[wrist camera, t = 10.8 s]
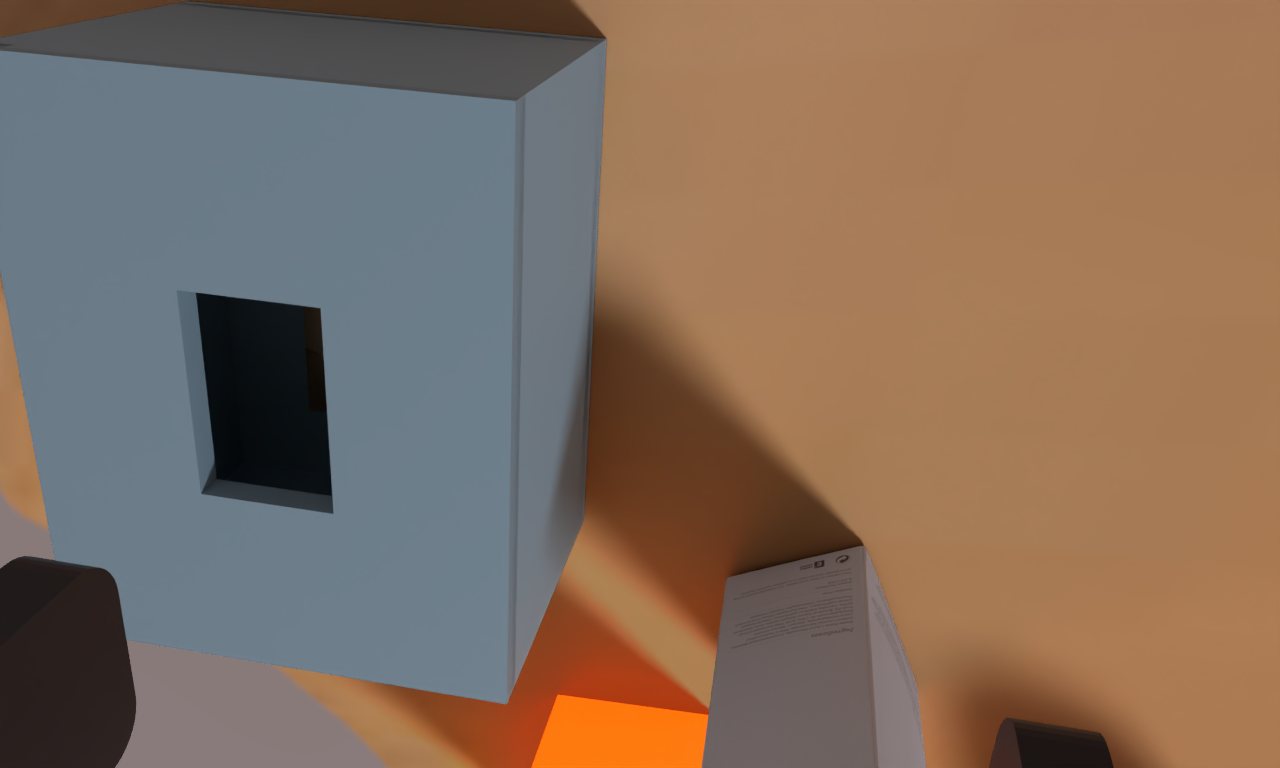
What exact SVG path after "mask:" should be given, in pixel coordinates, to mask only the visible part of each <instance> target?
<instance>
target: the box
mask: <svg viewBox="0 0 1280 768" xmlns="http://www.w3.org/2000/svg"><path fill="white" fill-rule="evenodd" d="M606 45H607V39H604V38H592V37H581V36H570V35H559V34H548V33H537V32H526V31H515V30H503V29H492V28H481V27H470V26H459V25H448V24H437V23H425V22H414V21H403V20H392V19H381V18H370V17H359V16H348V15H336V14H325V13H314V12H303V11H292V10H281V9H270V8H258V7H247V6H236V5H225V4H214V3H203V2H192V1H185V2H180V3H175V4H170V5H164V6H159V7H154V8H149V9H144V10H139V11H134V12H129V13H124V14H119V15H114V16H109V17H104V18H99V19H94V20H89V21H83V22H78V23H73V24H68V25H63V26H58V27H53V28H48V29H43V30H38V31H33V32H28V33H23V34H18V35H13V36H7V37H2V38H0V272H1V278H2V283H3V288H4V294H5V299H6V304H7V309H8V315H9V320H10V325H11V331H12V336H13V341H14V346H15V352H16V357H17V362H18V368H19V373H20V378H21V383H22V389H23V394H24V399H25V405H26V410H27V415H28V421H29V426H30V431H31V436H32V442H33V447H34V452H35V458H36V463H37V468H38V473H39V479H40V484H41V489H42V495H43V500H44V505H45V510H46V516H47V521H48V526H49V532H50V537H51V542H52V547H53V552H54V558H55V560H56V561H62V562H68V563H74V564H80V565H87V566H93V567H99V568H103V569H105V570H107V571H108V572H109V573H111V575H112V576H113V577H114V579H115V582H116V584H117V588H118V592H119V598H120V604H121V610H122V616H123V622H124V628H125V634H126V640H130V641H136V642H142V643H148V644H154V645H159V646H165V647H171V648H177V649H183V650H189V651H195V652H201V653H206V654H212V655H218V656H224V657H230V658H236V659H242V660H248V661H254V662H260V663H265V664H271V665H277V666H283V667H289V668H295V669H301V670H307V671H313V672H319V673H324V674H330V675H336V676H342V677H348V678H354V679H360V680H366V681H372V682H377V683H383V684H389V685H395V686H401V687H407V688H413V689H419V690H425V691H431V692H436V693H442V694H448V695H454V696H460V697H466V698H472V699H478V700H484V701H490V702H495V703H501V704H507V703H508V701H509V698H510V696H511V693H512V691H513V689H514V686H515V684H516V681H517V679H518V677H519V674H520V672H521V669H522V667H523V665H524V662H525V660H526V657H527V655H528V653H529V650H530V648H531V645H532V643H533V641H534V638H535V636H536V633H537V631H538V629H539V626H540V624H541V621H542V619H543V617H544V614H545V612H546V609H547V607H548V605H549V602H550V600H551V597H552V595H553V593H554V590H555V588H556V585H557V583H558V581H559V578H560V576H561V573H562V571H563V569H564V566H565V564H566V561H567V559H568V557H569V554H570V552H571V549H572V547H573V545H574V542H575V540H576V537H577V535H578V533H579V530H580V528H581V525H582V523H583V521H584V509H585V488H586V467H587V446H588V425H589V404H590V383H591V362H592V340H593V319H594V298H595V277H596V256H597V235H598V214H599V193H600V172H601V151H602V130H603V108H604V87H605V66H606ZM303 306H308V307H316V308H321V322H322V338H323V354H324V370H325V386H326V402H327V412H320V411H313V410H309V396H308V380H307V364H306V349H305V333H304V317H303Z"/></svg>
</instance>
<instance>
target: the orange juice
mask: <svg viewBox="0 0 1280 768" xmlns="http://www.w3.org/2000/svg"><path fill="white" fill-rule="evenodd" d="M707 722H708V715H704V714H696V713H689V712H682V711H674V710H667V709H660V708H652V707H645V706H638V705H630V704H623V703H616V702H608V701H601V700H594V699H586V698H579V697H572V696H564V695H557V698H556V701H555V703H554V706H553V709H552V712H551V715H550V717H549V720H548V723H547V726H546V728H545V731H544V734H543V737H542V740H541V742H540V745H539V748H538V751H537V753H536V756H535V759H534V762H533V765H532V767H531V768H701V767H702V759H703V751H704V745H705V737H706V729H707Z"/></svg>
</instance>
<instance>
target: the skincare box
mask: <svg viewBox="0 0 1280 768" xmlns="http://www.w3.org/2000/svg"><path fill="white" fill-rule="evenodd" d="M701 768H926V763H925V754H924V746H923V736H922V728H921V718H920V708H919V698H918V689H917V685H916V682H915V679H914V676H913V673H912V670H911V667H910V664H909V661H908V659H907V656H906V653H905V650H904V647H903V645H902V642H901V639H900V636H899V634H898V631H897V628H896V626H895V623H894V620H893V617H892V615H891V612H890V609H889V606H888V604H887V601H886V598H885V596H884V593H883V590H882V587H881V585H880V582H879V579H878V577H877V574H876V572H875V569H874V567H873V564H872V562H871V559H870V557H869V554H868V552H867V550H866V548H865V547H864V546H857V547H853V548H849V549H845V550H841V551H836V552H832V553H828V554H824V555H819V556H815V557H811V558H806V559H802V560H798V561H794V562H790V563H785V564H781V565H777V566H773V567H769V568H765V569H761V570H756V571H752V572H748V573H744V574H740V575H736V576H731V577H728V578H727V579H726V584H725V591H724V600H723V607H722V615H721V622H720V630H719V637H718V645H717V653H716V661H715V669H714V676H713V685H712V691H711V700H710V706H709V715H708V722H707V729H706V737H705V745H704V751H703V759H702V767H701Z"/></svg>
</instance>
